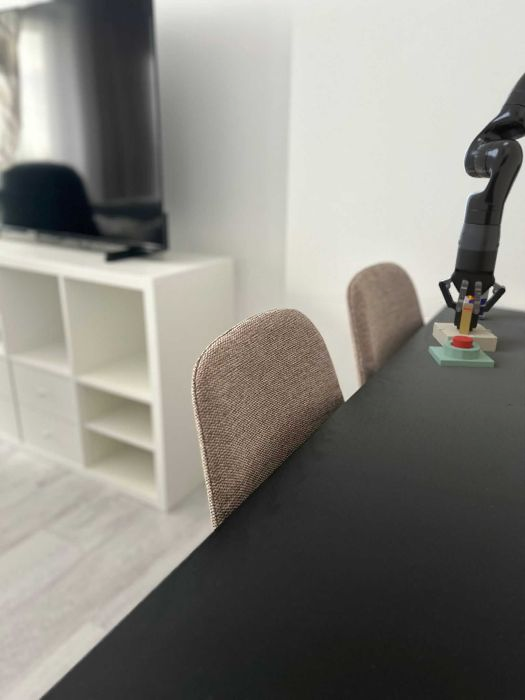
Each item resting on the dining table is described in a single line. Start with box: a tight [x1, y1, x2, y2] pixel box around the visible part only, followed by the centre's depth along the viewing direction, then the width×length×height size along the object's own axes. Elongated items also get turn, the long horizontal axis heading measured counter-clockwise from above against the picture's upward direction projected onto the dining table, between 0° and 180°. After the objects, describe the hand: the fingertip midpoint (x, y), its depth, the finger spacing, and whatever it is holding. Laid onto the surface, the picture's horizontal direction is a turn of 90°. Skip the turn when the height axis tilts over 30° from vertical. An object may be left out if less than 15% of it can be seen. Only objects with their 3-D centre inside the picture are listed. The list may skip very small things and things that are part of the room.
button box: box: [428, 340, 495, 368], centre depth 99 cm, size 10×8×3 cm
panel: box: [432, 322, 498, 352], centre depth 109 cm, size 11×11×3 cm
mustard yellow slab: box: [459, 303, 473, 334], centre depth 108 cm, size 7×2×5 cm, turn 156°
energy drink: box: [463, 289, 490, 321], centre depth 128 cm, size 5×5×12 cm
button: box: [452, 336, 473, 349], centre depth 99 cm, size 4×4×2 cm
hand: (464, 328), depth 109 cm, fingers closed on mustard yellow slab, 2 cm apart
